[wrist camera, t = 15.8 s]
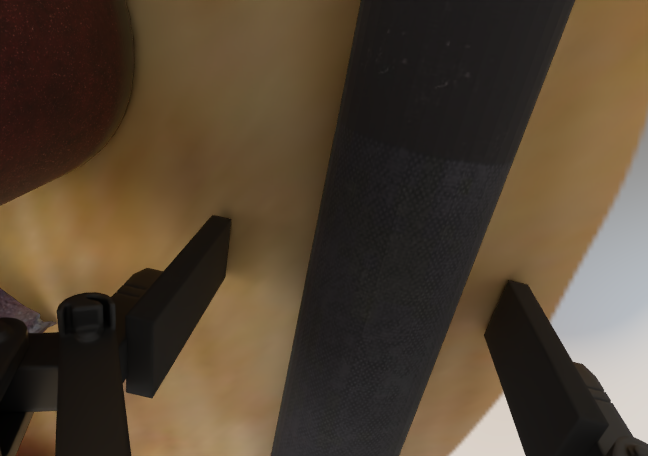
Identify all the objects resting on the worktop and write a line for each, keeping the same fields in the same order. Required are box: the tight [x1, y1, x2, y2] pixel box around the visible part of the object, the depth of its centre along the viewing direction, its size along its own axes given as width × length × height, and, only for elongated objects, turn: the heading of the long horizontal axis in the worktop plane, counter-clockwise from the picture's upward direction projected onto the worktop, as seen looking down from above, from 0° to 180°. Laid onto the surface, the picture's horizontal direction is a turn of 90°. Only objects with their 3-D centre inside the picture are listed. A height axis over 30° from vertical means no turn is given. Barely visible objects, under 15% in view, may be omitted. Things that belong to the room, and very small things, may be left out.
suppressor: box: [271, 0, 575, 456], centre depth 15 cm, size 27×5×5 cm, turn 169°
